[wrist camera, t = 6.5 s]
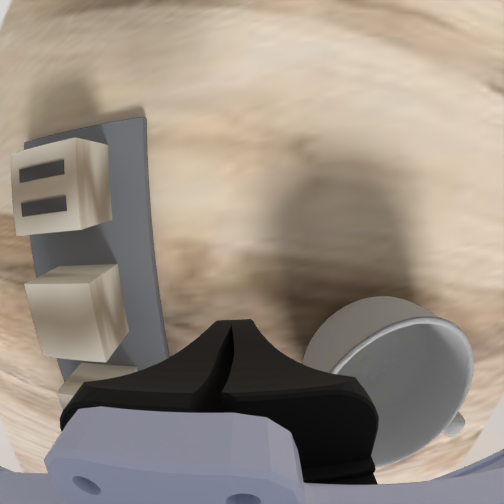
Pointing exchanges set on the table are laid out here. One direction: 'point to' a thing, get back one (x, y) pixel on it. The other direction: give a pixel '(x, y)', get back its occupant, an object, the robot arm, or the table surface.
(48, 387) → the table surface
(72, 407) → the robot arm
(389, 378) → the teacup
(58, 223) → the marked block two
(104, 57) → the table surface
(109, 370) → the marked block one
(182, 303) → the table surface
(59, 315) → the plain block
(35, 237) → the mat
